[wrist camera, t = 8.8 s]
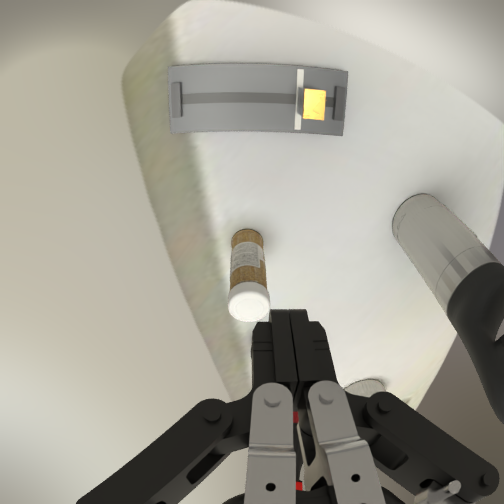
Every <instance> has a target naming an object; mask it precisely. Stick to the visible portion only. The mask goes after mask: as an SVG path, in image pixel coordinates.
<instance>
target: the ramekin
mask: <svg viewBox="0 0 504 504" xmlns="http://www.w3.org/2000/svg"><path fill="white" fill-rule="evenodd" d="M344 390H345V391H347V392H348V393H351V394H354V395H359V396H364V397H370V396H371V395H373V394H374V393H376V392H380V391H384V392H386V391H385V389H384V387H383V385H382V384H381V383H380V382H378V381H376V380H363V381H359V382H356V383H354V384H352V385H350V386H348V387H347V388H345V389H344Z"/></svg>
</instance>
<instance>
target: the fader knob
mask: <svg viewBox="0 0 504 504" xmlns="http://www.w3.org/2000/svg"><path fill="white" fill-rule="evenodd" d="M325 98H326V91H325V90H320V89H316V88H307V87H298V96H297V113H298V114H299V115H301V116H302V118H303V119H315V120H324V111H325Z"/></svg>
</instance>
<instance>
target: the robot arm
mask: <svg viewBox="0 0 504 504" xmlns="http://www.w3.org/2000/svg"><path fill="white" fill-rule="evenodd" d="M392 227H393V234H394V237H395V239H396V240H397V242H398V243H399V244H400V246H401V247H402V248H403V250H404V251H405V253H406V254H407V256H408V257H409V259H410V260H411V261H412V263H413V264H414V266H415V267H416V269H417V270H418V272H419V273H420V274H421V276H422V277H423V279H424V280H425V282H426V283H427V285H428V287H429V288H430V290H431V291H432V293H433V294H434V296H435V297H436V299H437V300H438V302H439V304H440V305H441V307H442V308H443V310H444V312H445V313H446V315H447V317H448V318H449V320H450V322H451V323H452V325H453V327H454V328H455V330H456V331H457V333H458V335H459V336H460V338H461V340H462V342H463V343H464V345H465V347H466V349H467V351H468V353H469V355H470V357H471V359H472V362H473V363H474V366H475V368H476V371H477V373H478V375H479V378H480V380H481V383H482V385H483V388H484V390H485V393H486V395H487V398H488V400H489V402H490V405H491V407H492V409H493V410H494V412H495V414H496V416H497V417H498V419H499V420H500V421H501V422H502V423H503V424H504V335H502V336H501V337H500V338H499V339H498V340H497V341H495V338H496V335H497V331H498V329H499V327H500V325H501V323H502V321H503V319H504V266H503V265H502V264H501V263H500V262H499V261H498V260H497V259H496V257H495V256H494V255H493V254H492V253H491V252H490V251H489V250H488V249H487V248H486V247H485V246H484V245H483V244H482V243H481V242H480V241H479V239H478V238H477V236H476V235H475V234H474V233H473V232H472V231H471V230H470V229H469V228H468V227H467V226H466V225H465V224H464V223H463V222H462V221H461V220H460V219H459V218H458V217H457V216H456V215H455V214H454V213H452V212H451V211H450V210H449V209H448V208H447V207H446V206H445V205H442V204H441V203H440V202H439V201H438V200H436V199H435V198H434V197H433V196H430V195H427V194H420V195H416V196H413V197H411V198H409V199H408V200H406V201H405V202H404V203H403V204H402V205H401V206H400V208H399V209H398V211H397V212H396V214H395V217H394V220H393V226H392ZM329 349H330V348H329V344H328V340H327V336H326V332H325V329H324V328H323V327H322V326H321V324H320V323H319V322H318V321H309V319H308V315H307V311H306V309H288V310H287V309H270V313H269V322H257V324H256V326H255V328H254V330H253V336H252V390H251V391H250V393H249V394H248V395H247V396H245V397H244V398H242V399H240V400H237V401H233V402H229V403H225V402H223V401H222V400H219V399H206V400H203V401H201V402H199V403H198V404H197V405H196V406H195V407H193V408H192V409H191V410H190V411H189V412H188V413H187V414H185V415H184V416H183V417H182V418H181V419H180V420H179V421H178V422H176V423H175V424H174V425H173V426H172V427H171V428H169V429H168V430H167V431H166V432H165V433H164V434H162V435H161V436H160V437H159V438H157V439H156V440H155V441H154V442H153V443H151V444H150V445H149V446H148V447H147V448H146V449H144V450H143V451H142V452H141V453H139V454H138V455H137V456H136V457H134V458H133V459H132V460H131V461H129V462H128V463H127V464H125V465H124V466H123V467H122V468H120V469H119V470H118V471H117V472H115V473H114V474H113V475H112V476H110V477H109V478H107V479H106V480H105V481H103V482H102V483H101V484H99V485H98V486H97V487H95V488H94V489H93V490H91V491H90V492H89V493H87V494H86V495H84V496H83V497H82V498H80V499H79V500H78V501H77V502H76V504H178V503H179V502H180V501H181V500H182V499H183V498H184V497H186V496H187V495H188V494H189V493H190V492H191V491H192V490H193V489H195V488H196V486H198V485H199V484H200V483H201V482H202V481H203V480H204V479H205V478H206V477H207V476H208V475H209V474H210V473H211V472H212V471H214V470H215V469H216V468H217V467H218V466H219V465H220V464H221V462H223V461H224V459H226V458H227V457H228V456H229V455H230V453H231V452H233V451H237V450H241V449H244V448H247V447H249V450H248V463H247V474H246V487H245V493H243V494H241V495H237V496H235V497H233V498H231V499H229V500H227V501H226V502H224V503H223V504H405V503H404V502H403V501H401V500H400V499H399V498H398V497H396V496H395V495H394V494H393V493H392V492H390V491H389V490H387V489H386V488H384V487H382V486H381V485H380V481H379V478H378V475H377V471H376V468H375V466H376V467H377V468H379V469H380V470H381V471H382V472H384V473H385V474H386V475H388V476H389V477H390V478H392V479H393V480H394V481H396V482H397V483H398V484H400V485H401V486H403V487H404V488H405V489H406V490H408V491H409V492H411V493H412V494H413V495H415V499H414V504H475V503H476V502H477V501H479V500H481V499H483V498H485V497H487V496H489V495H491V494H492V493H493V492H494V491H495V490H496V488H497V487H498V484H499V473H498V471H497V469H496V468H495V467H494V466H493V465H491V464H490V463H489V462H487V461H486V460H484V459H483V458H481V457H480V456H478V455H477V454H475V453H474V452H472V451H471V450H470V449H468V448H467V447H465V446H464V445H462V444H461V443H460V442H458V441H457V440H455V439H454V438H453V437H451V436H450V435H448V434H447V433H446V432H444V431H443V430H441V429H440V428H438V427H437V426H436V425H434V424H433V423H432V422H430V421H429V420H427V419H426V418H425V417H423V416H422V415H421V414H419V413H418V412H416V411H415V410H414V409H412V408H411V407H410V406H408V405H407V404H406V403H404V402H403V401H401V400H400V399H399V398H397V397H396V396H395V395H393V394H391V393H389V392H384V391H380V392H376V393H374V394H373V395H371V396H370V397H364V396H359V395H354V394H351V393H348V392H347V391H345V390H344V389H343V388H342V387H341V386H340V385H339V383H338V381H337V378H336V374H335V370H334V365H333V361H332V357H331V352H330V350H329ZM296 411H298V418H299V421H298V424H297V431H298V436H299V442H300V447H301V452H302V457H303V463H304V485H305V490H306V491H302V490H296V454H295V450H294V448H293V412H296Z"/></svg>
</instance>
